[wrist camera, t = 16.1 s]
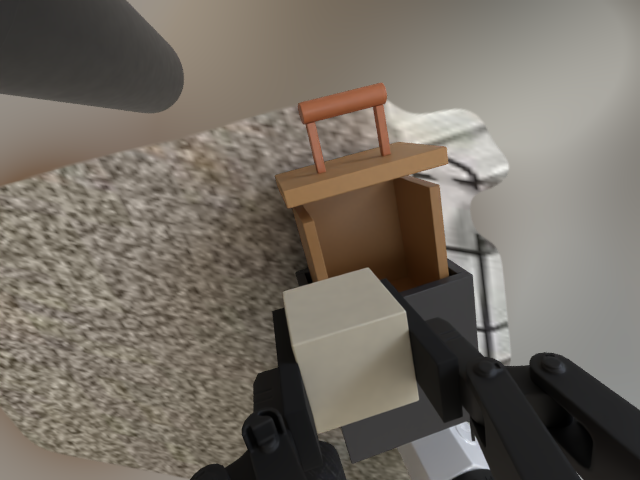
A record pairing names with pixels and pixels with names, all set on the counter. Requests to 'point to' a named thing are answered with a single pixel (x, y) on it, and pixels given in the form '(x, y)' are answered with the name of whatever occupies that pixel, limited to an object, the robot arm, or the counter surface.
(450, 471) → the jar
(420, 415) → the cabinet
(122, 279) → the counter surface
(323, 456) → the travel mug
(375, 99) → the drawer
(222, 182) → the counter surface
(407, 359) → the block
